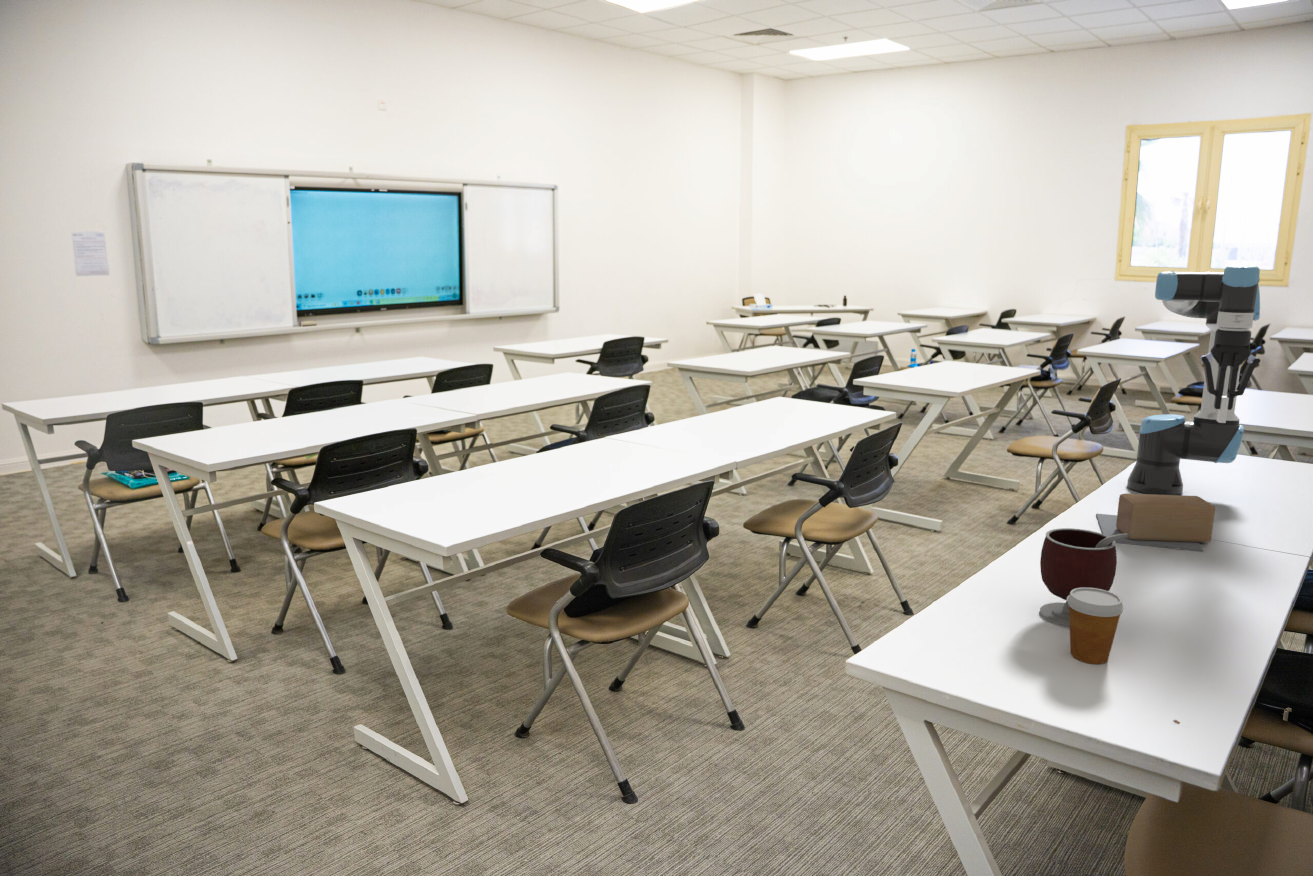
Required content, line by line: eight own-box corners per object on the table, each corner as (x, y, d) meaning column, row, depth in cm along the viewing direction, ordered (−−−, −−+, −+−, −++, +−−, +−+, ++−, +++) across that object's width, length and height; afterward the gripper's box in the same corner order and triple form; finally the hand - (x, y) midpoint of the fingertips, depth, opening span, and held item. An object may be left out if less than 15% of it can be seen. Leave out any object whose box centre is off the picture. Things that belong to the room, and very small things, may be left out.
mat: (1096, 515, 250) (1096, 513, 250) (1185, 523, 242) (1185, 521, 242) (1104, 541, 228) (1105, 539, 228) (1203, 551, 221) (1203, 549, 220)
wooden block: (1199, 495, 232) (1118, 492, 235) (1217, 506, 223) (1133, 503, 225) (1194, 531, 234) (1114, 528, 237) (1212, 543, 225) (1128, 540, 227)
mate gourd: (1025, 618, 182) (1033, 525, 178) (1049, 598, 192) (1058, 510, 188) (1105, 640, 172) (1117, 542, 167) (1127, 618, 182) (1138, 525, 177)
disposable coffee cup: (1051, 646, 169) (1057, 587, 167) (1099, 644, 170) (1105, 585, 167) (1078, 669, 160) (1085, 607, 157) (1129, 667, 161) (1136, 605, 158)
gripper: (1206, 329, 219) (1194, 423, 225) (1268, 331, 215) (1254, 426, 220) (1200, 326, 226) (1189, 417, 231) (1260, 328, 221) (1247, 420, 227)
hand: (1221, 421), depth 226 cm, fingers closed
